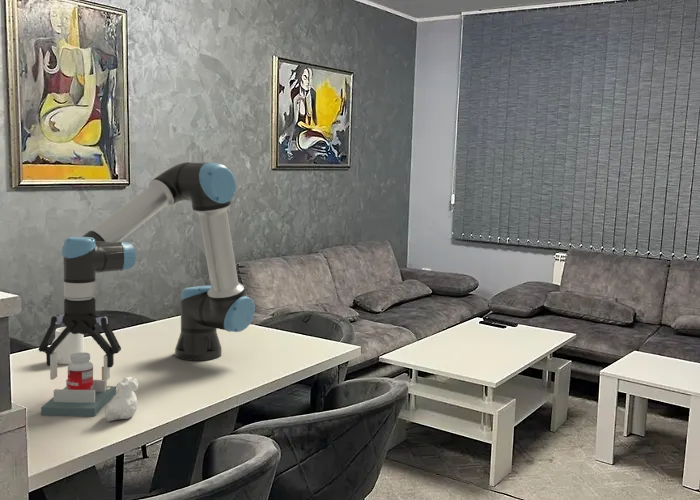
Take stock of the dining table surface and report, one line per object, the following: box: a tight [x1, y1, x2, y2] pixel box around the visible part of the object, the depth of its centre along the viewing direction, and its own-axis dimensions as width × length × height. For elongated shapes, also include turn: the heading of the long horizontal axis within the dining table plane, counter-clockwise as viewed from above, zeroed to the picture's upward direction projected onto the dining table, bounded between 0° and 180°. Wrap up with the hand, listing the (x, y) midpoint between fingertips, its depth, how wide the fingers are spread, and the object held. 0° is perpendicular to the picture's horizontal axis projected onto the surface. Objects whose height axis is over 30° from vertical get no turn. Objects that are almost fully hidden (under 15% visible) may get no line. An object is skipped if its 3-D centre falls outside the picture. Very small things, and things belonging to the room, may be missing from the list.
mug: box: [51, 326, 85, 366], centre depth 218 cm, size 12×8×10 cm
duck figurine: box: [104, 376, 139, 422], centre depth 173 cm, size 12×8×11 cm
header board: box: [40, 365, 117, 417], centre depth 181 cm, size 13×18×8 cm
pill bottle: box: [67, 352, 94, 390], centre depth 181 cm, size 6×6×11 cm
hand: (80, 378), depth 181 cm, fingers open, 13 cm apart
